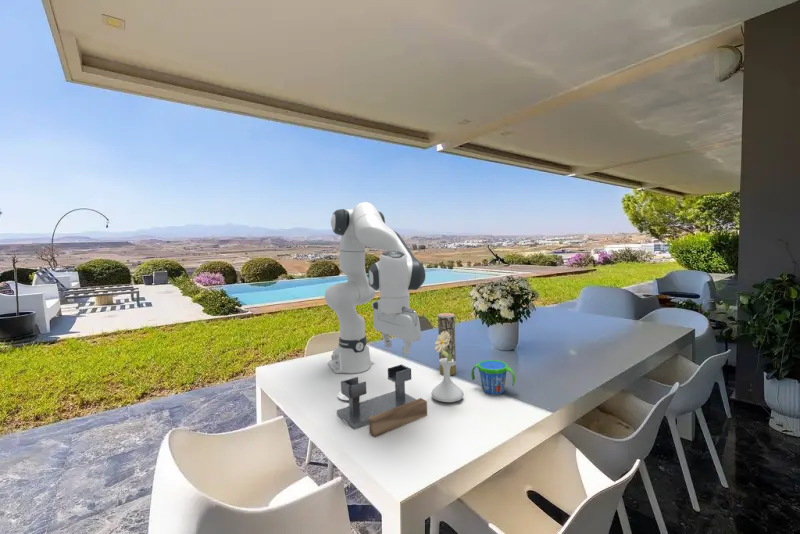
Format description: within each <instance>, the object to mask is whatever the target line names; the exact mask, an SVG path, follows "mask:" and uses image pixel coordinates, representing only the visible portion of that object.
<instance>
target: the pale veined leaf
mask: <svg viewBox="0 0 800 534" xmlns="http://www.w3.org/2000/svg"><path fill="white" fill-rule="evenodd" d="M341 396H343V394H342V393H341V390H340V391H339V393H337V398H338V399H340V400H343V401H346V399H345V398H343V397H344V396H343V397H342V398H341Z"/></svg>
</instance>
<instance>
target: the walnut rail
mask: <svg viewBox="0 0 800 534" xmlns="http://www.w3.org/2000/svg"><path fill="white" fill-rule="evenodd" d="M427 416H428V401H427V400H425V399H423V398H422V397H420V398H417V400H414V401H412V402H409V403H406V404H404V405H401V406H398V407H396V408H393V409H390V410H388V411H385V412H382V413H380V414H377V415H374V416H372V417H369V424H368V429H369V434H370V435H371V436H373V437H374V438H377V437H379V436H382V435H384V434H387V433H389V432H392V431H394V430H396V429H397V428H400V427H403V426H406V425H407V424H410V423H412V422H415V421H417V420H420V419H422V418H424V417H427Z"/></svg>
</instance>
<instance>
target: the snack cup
mask: <svg viewBox="0 0 800 534" xmlns="http://www.w3.org/2000/svg"><path fill="white" fill-rule="evenodd" d="M476 368H477V370H478V372H479V377H480V383H481V388H482V391H483V392H484V393H485V394H486V395H491V396H499V395H501V394H504V391H505V385H506V380H507V379H506V377H507V372H510V374H511V377H512V383H511V384H512V387H514V385H515V383H516V375H515V372H514V370H513V369H512V368H511V367H510V366H508V364H507V363H506V362H504V361H501V360H496V359H490V360H489V359H488V360H482V361H479V362H478V363H476V364H475V365H474V366H473V367H472V369H471V373H470V375H471V380H472V381H474V380H475V378H476V377H475V371H474V370H475V369H476Z"/></svg>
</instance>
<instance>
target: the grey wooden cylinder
mask: <svg viewBox="0 0 800 534" xmlns="http://www.w3.org/2000/svg"><path fill="white" fill-rule="evenodd" d="M455 317H456V315H455V313H453V312H452V313H451V312H441V313H439V314H437V323H438V324H437V325H438V327H437V328H438V335H441V332H443V331H444V333H445V332H446V331H447V332H448V334H449V337H450V341H449V345H447V347H448V349H449V353H448V349H447V348H446V349H445V351H446V352H447V353H448V354H451V359H453V360H454V361H453V362H452V364H451V367H450V377H451V376H454V375H456V373H457V366H456V365H457V364H456V363H457V362H456V361H457V360H456V359H457V358H456V357H457V355H456V353H457V352H456V326H455V325H456V320H455V319H456V318H455ZM438 357H439V360H440V359H442V358H448V357H446V356H444V355H443V354H442V352H440V353H439V352H438ZM439 360H438V361H439ZM439 373H440V374H441V375H442V376H444V372H443V367H442V364H441V362H440V361H439Z"/></svg>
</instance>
